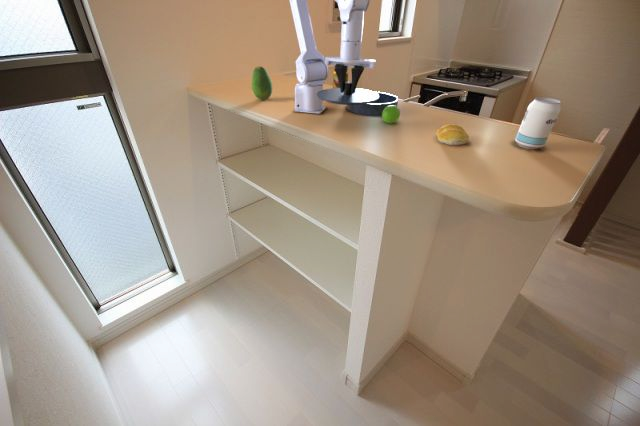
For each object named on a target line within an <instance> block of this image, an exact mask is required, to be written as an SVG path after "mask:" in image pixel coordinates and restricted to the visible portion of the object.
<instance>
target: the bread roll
mask: <svg viewBox="0 0 640 426" xmlns="http://www.w3.org/2000/svg"><path fill="white" fill-rule="evenodd" d="M436 136H437V140H438V141H439V143H442V144H445V145H448V146H462V145H465V144H467V143H468V141H469V139H470V136H469V134H468V133H467V131H466V130H465V129H464V128H463V126H461V125H458V124H456V123H455V124H453V123H449V124H446V125H443V126H441V127H440V128H438V129H437V131H436Z"/></svg>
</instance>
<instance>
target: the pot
mask: <svg viewBox="0 0 640 426" xmlns="http://www.w3.org/2000/svg"><path fill="white" fill-rule="evenodd" d="M374 92H375V93H377V94H378V95H379V99H378V100H376V101H374V102H371V103H367V104H361V105H346V109H347V111H349V112H350V113H353V114H357V115H361V116H368V117H369V116H370V117H382V113H383V110H384V109H385V108H386V107H387V106H390V105H393V106H396V107H397V108H398V105H399V104H398V103H399V98H398V96H396V95H393V94H390V93H386V92H380V91H378V92H377V91H374Z"/></svg>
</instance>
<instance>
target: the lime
mask: <svg viewBox="0 0 640 426" xmlns="http://www.w3.org/2000/svg"><path fill="white" fill-rule="evenodd" d="M400 116H401V111H400V109H399V108H398V106H397V107H396V106H393V105H390V106H387V107H386V108H385V109H384V110H383V113H382V116H381V117H382V120H383V122H384V123H386V124H395V123H396V122H398V120H399V119H400Z"/></svg>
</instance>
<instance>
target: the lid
mask: <svg viewBox="0 0 640 426" xmlns="http://www.w3.org/2000/svg"><path fill="white" fill-rule="evenodd" d="M351 85H352V81H348V82H344V92H343V93H341V90H340V88H333V87H331V88H324V89H323V90H321V91H319V92H318V93H317V97H318V98H319V99H321V100H323V102H327V103H330V104H335V105H340V106H341V105H342V106H344V105H345V106H347V105H361V104H367V103H371V102H374V101H376V100H378V99H379V95H378V94H377V93H375V92H376V91H372V90H369V89H366V88H365V89H364V88H357V87H356V90H355V93H354V94H351Z"/></svg>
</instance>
